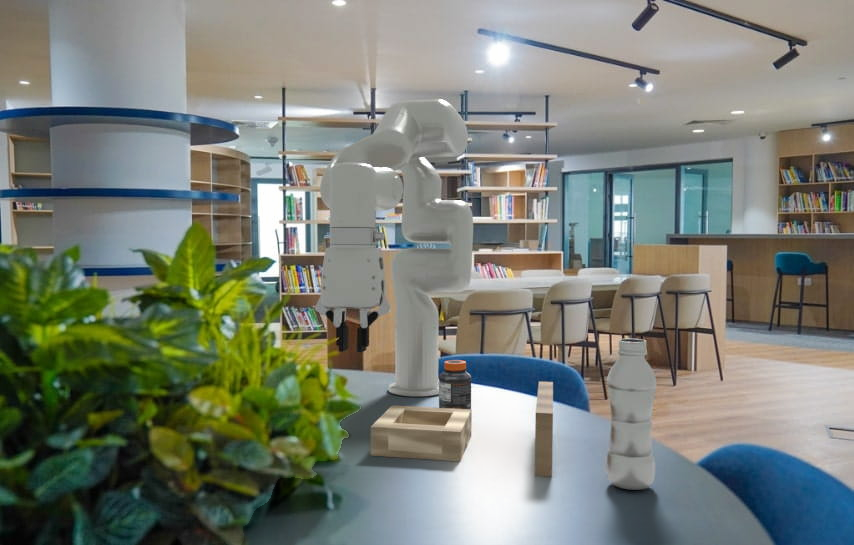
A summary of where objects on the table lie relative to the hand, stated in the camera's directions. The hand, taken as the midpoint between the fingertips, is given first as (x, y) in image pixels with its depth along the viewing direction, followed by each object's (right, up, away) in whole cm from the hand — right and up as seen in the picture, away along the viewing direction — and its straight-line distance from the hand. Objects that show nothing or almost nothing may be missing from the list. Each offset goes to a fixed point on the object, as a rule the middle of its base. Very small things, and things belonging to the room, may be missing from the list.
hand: (352, 349), depth 112 cm
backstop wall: (+31, -16, -5) cm, 35 cm away
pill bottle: (+17, -15, +13) cm, 26 cm away
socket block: (+12, -15, -2) cm, 19 cm away
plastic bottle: (+40, -16, -20) cm, 47 cm away
